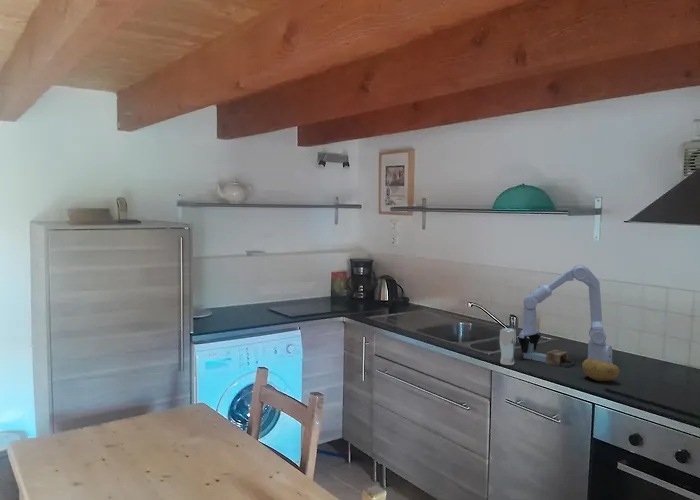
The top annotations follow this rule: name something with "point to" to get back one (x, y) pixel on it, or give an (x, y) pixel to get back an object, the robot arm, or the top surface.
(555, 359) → the tunnel
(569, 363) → the pit
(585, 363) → the potato
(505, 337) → the beer glass
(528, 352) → the blue l-shaped block
